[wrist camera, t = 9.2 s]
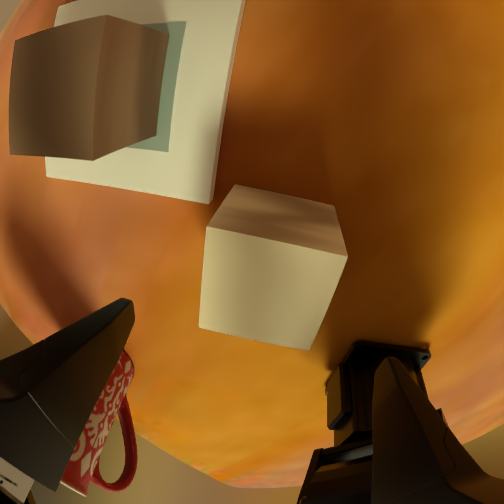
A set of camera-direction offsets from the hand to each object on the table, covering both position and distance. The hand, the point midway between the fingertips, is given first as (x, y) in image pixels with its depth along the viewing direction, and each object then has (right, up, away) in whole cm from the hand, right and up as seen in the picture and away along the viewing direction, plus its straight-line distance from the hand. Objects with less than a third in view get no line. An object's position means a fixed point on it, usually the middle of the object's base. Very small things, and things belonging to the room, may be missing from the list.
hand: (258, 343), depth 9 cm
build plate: (-7, +12, +3) cm, 14 cm away
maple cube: (+1, +4, +6) cm, 7 cm away
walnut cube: (-7, +11, +2) cm, 13 cm away
